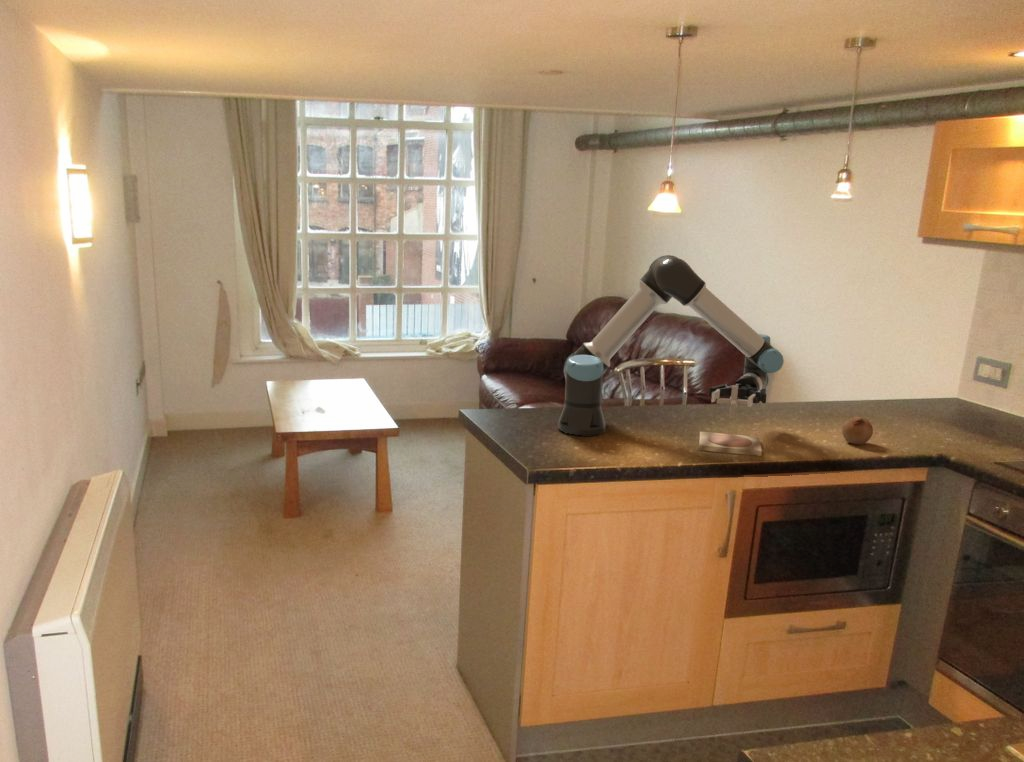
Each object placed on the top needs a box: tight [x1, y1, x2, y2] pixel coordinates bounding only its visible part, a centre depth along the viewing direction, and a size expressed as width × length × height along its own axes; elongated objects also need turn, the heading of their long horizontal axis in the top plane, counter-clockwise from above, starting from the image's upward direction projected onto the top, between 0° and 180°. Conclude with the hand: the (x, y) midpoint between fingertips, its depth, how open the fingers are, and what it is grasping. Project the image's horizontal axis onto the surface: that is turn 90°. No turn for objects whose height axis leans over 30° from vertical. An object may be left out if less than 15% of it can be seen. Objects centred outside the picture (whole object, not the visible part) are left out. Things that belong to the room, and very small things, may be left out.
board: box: [698, 431, 763, 457], centre depth 249 cm, size 18×16×2 cm
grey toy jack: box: [716, 384, 748, 420], centre depth 246 cm, size 10×10×10 cm
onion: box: [841, 416, 874, 445], centre depth 256 cm, size 9×9×10 cm
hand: (730, 400), depth 242 cm, fingers closed on grey toy jack, 10 cm apart
